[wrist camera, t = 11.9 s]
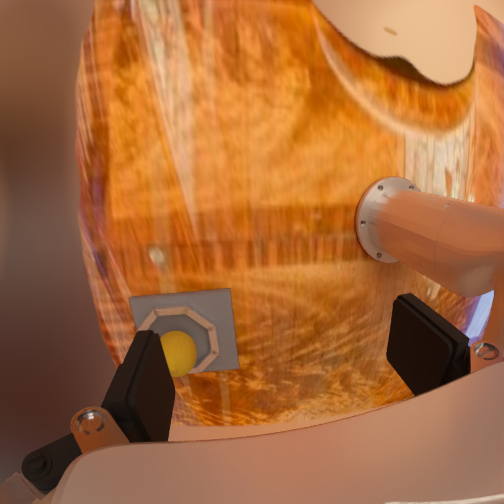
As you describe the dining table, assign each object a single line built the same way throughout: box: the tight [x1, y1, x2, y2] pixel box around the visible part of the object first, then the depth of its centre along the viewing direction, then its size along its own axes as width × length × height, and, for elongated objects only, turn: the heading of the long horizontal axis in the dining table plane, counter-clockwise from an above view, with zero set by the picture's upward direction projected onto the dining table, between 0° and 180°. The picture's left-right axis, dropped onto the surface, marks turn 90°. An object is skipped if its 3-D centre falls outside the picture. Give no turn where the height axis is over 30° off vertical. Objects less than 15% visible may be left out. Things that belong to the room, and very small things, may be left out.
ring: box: [137, 302, 219, 374], centre depth 39 cm, size 11×11×2 cm
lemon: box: [160, 331, 197, 377], centre depth 36 cm, size 6×6×8 cm
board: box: [129, 288, 239, 372], centre depth 40 cm, size 14×13×1 cm
